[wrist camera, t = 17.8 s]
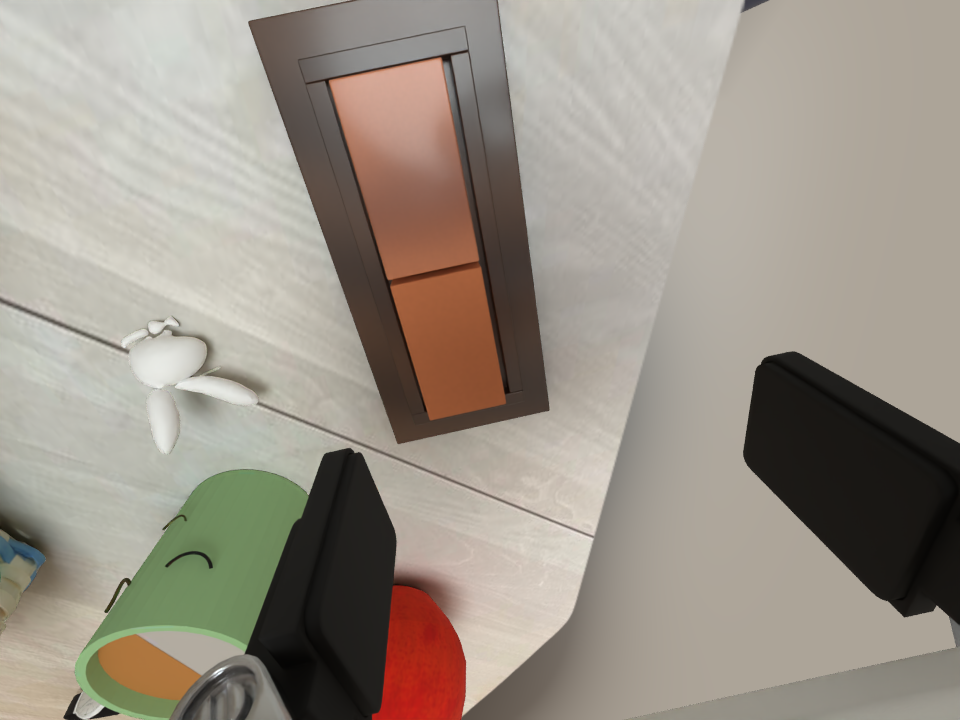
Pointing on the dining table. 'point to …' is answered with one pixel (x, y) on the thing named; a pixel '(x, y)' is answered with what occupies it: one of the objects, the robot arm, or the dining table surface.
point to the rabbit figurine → (176, 378)
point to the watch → (86, 709)
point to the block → (450, 339)
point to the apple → (421, 661)
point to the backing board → (482, 166)
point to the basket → (15, 573)
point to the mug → (192, 594)
